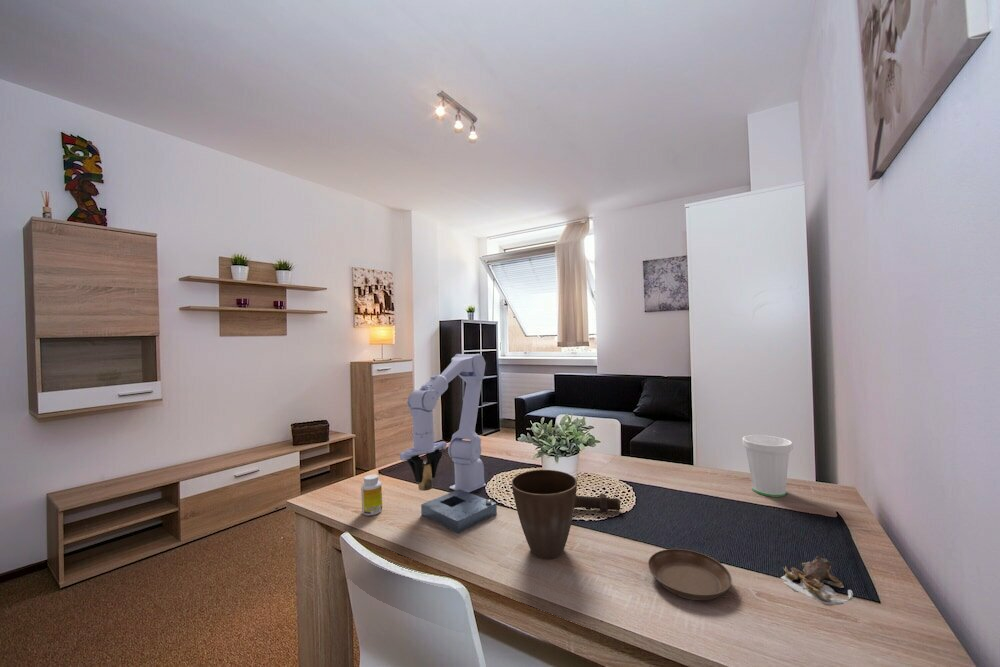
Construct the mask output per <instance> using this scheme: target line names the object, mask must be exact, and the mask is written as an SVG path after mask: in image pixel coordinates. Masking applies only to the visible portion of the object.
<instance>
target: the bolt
mask: <svg viewBox="0 0 1000 667" xmlns="http://www.w3.org/2000/svg"><path fill="white" fill-rule="evenodd" d="M574 509H590V510H591V509H592V510H593V509H594V510H599V513H601V514H606V513H607V512H608V511H617V512H618V511H620V510H621V499H620V498H617V497H616V498H614V497H607V495H606V494H605V493H600V494H599V496H589V495H585V496H584V495H577V494H576V499H575V506H574Z"/></svg>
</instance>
